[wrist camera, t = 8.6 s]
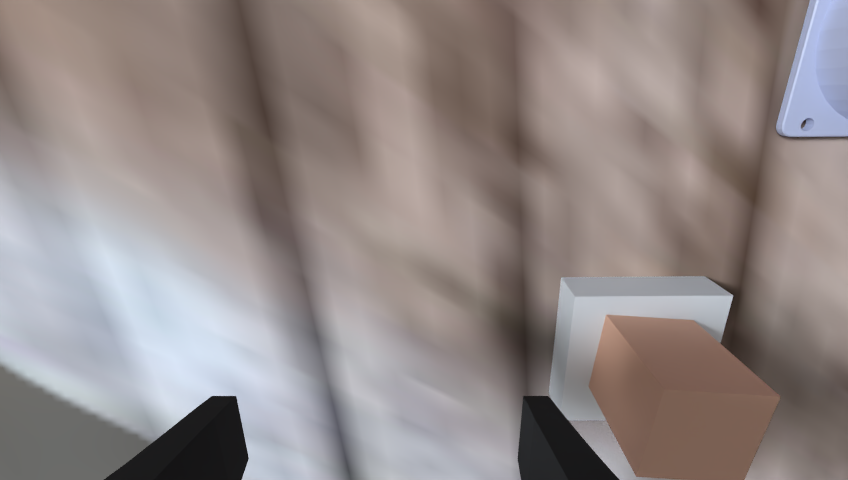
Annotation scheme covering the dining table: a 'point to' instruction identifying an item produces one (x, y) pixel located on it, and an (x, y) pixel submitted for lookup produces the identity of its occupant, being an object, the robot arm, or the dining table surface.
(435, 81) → the dining table surface
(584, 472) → the robot arm
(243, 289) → the dining table surface
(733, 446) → the column block
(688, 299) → the foundation slab
